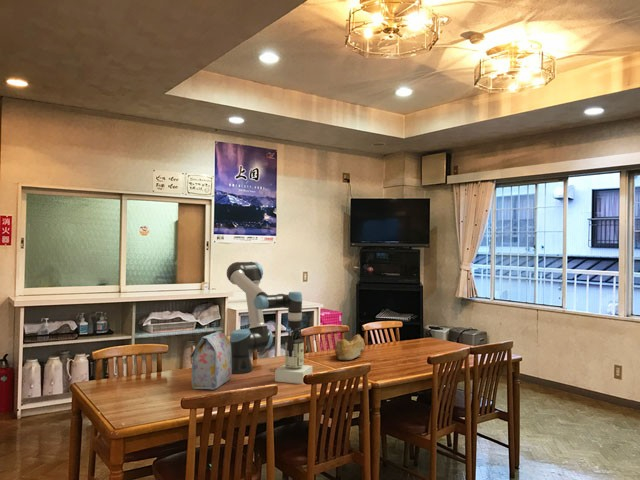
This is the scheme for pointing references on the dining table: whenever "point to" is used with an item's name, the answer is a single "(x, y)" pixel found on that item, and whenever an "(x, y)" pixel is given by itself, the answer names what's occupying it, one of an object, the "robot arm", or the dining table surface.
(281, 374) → the white square box
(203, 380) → the lunch bag
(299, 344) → the coffee can
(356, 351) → the rough brown rock
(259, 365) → the dining table surface
